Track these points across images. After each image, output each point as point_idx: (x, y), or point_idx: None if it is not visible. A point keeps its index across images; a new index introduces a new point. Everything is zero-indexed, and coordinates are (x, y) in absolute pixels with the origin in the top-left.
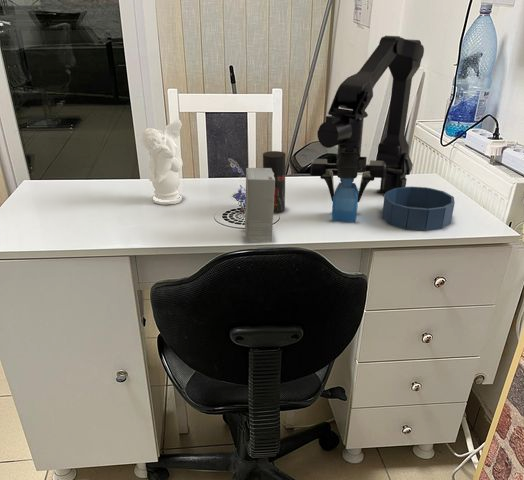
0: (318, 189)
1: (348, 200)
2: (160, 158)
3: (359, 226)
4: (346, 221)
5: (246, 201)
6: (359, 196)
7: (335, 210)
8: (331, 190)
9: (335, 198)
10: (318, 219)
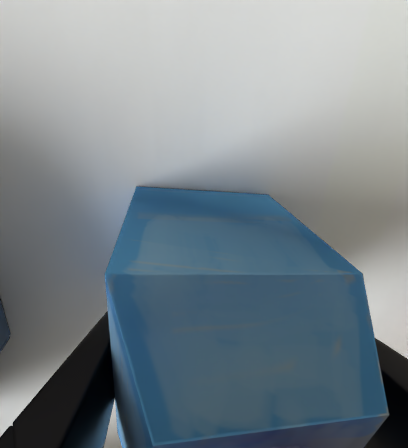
0: None
1: (205, 262)
2: None
3: (103, 127)
4: (188, 190)
5: None
6: (92, 350)
7: (277, 218)
8: (399, 368)
9: (338, 271)
10: (327, 211)
